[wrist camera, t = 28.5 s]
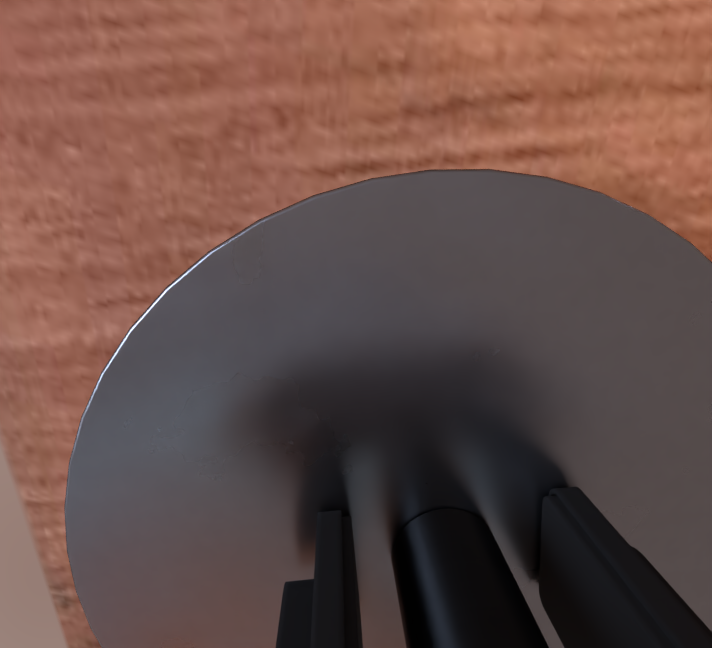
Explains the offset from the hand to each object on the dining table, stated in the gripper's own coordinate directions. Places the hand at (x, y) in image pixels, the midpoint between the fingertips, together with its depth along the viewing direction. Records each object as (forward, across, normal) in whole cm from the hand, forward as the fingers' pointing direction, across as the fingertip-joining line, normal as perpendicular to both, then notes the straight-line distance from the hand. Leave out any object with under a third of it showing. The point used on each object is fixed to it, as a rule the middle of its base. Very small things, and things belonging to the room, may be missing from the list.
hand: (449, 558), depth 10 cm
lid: (+1, 0, 0) cm, 1 cm away
